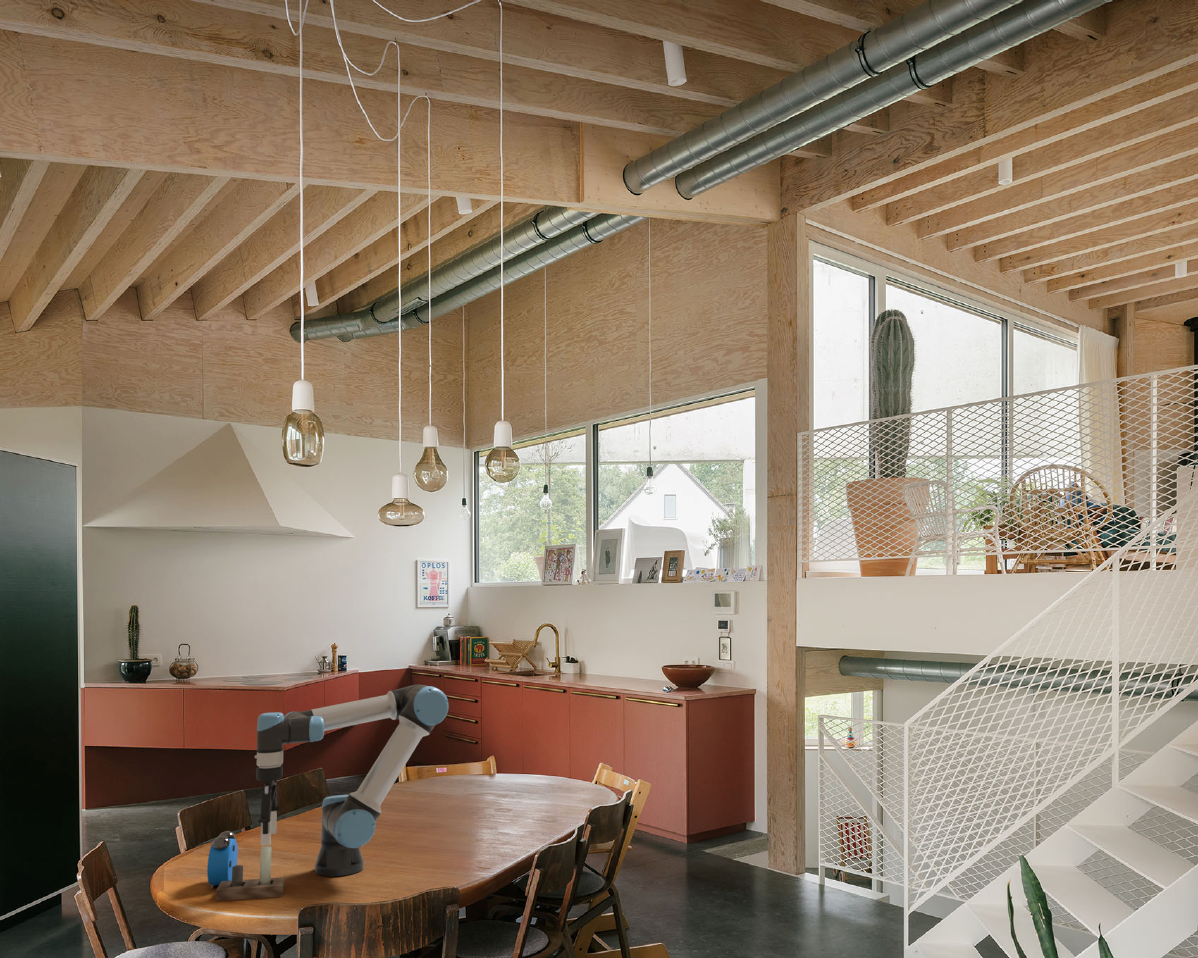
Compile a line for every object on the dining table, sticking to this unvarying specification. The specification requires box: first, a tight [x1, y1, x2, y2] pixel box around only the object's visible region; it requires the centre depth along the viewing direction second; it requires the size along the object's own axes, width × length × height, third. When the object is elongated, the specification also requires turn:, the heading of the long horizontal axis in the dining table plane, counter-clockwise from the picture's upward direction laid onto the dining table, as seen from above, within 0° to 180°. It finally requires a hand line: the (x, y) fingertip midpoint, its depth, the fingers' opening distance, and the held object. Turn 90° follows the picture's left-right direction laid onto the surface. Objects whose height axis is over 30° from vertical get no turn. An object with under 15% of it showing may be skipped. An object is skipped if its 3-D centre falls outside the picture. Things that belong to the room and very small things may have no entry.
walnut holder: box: [215, 864, 286, 902], centre depth 281 cm, size 18×9×8 cm, turn 102°
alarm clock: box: [206, 830, 239, 889], centre depth 291 cm, size 13×6×15 cm, turn 8°
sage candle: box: [259, 845, 273, 885], centre depth 282 cm, size 3×3×13 cm
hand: (268, 839), depth 283 cm, fingers open, 13 cm apart
